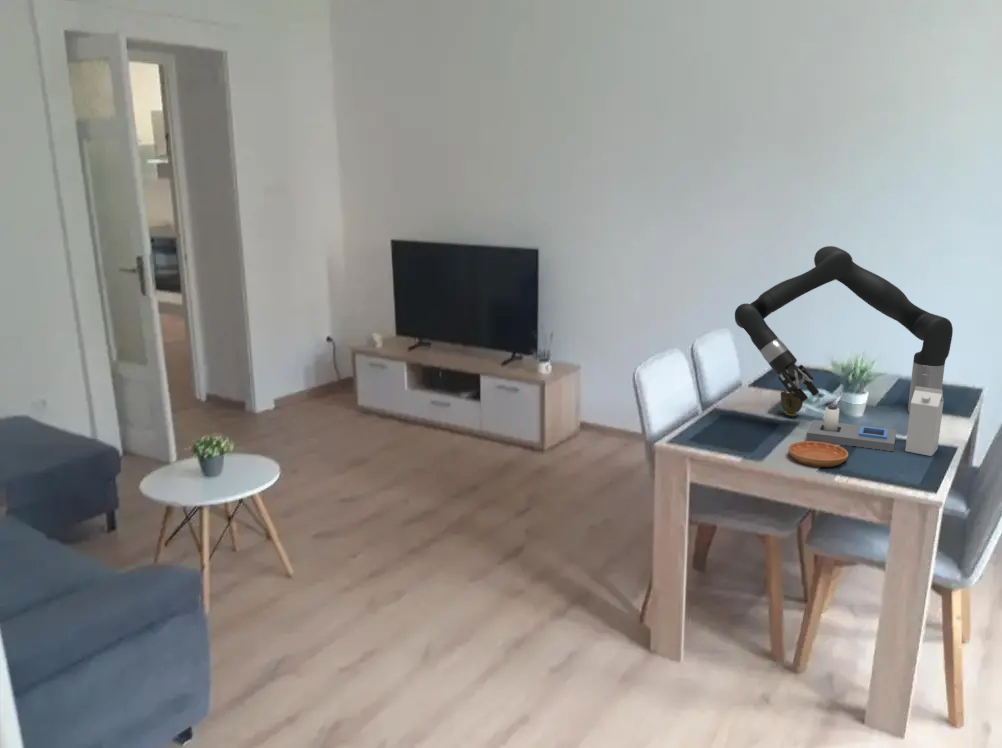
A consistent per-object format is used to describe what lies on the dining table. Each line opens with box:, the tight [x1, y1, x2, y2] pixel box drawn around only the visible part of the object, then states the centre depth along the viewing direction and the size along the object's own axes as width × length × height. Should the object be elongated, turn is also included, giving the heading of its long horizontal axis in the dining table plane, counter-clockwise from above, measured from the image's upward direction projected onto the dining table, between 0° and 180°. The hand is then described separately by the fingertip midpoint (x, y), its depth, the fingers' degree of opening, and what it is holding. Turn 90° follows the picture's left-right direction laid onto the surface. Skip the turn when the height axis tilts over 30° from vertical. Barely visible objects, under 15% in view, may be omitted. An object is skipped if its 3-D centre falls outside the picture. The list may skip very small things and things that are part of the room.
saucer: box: [787, 440, 849, 468], centre depth 226 cm, size 16×16×3 cm
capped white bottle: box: [823, 403, 840, 432], centre depth 243 cm, size 4×4×10 cm
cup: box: [780, 390, 804, 418], centre depth 264 cm, size 8×7×8 cm
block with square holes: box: [805, 419, 897, 452], centre depth 242 cm, size 14×24×3 cm, turn 62°
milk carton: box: [904, 386, 945, 457], centre depth 229 cm, size 7×7×19 cm
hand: (811, 397), depth 246 cm, fingers open, 8 cm apart
